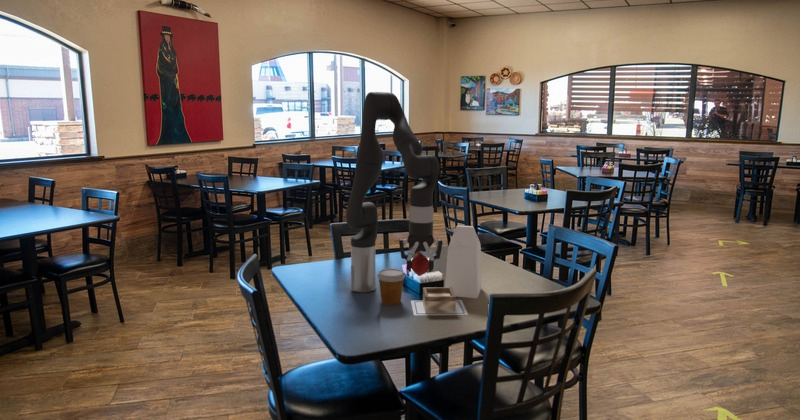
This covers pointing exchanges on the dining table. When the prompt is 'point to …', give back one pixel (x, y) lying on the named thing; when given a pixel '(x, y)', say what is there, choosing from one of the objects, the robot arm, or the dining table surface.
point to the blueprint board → (419, 310)
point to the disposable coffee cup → (391, 285)
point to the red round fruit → (420, 264)
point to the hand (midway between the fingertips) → (420, 271)
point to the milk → (464, 263)
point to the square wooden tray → (439, 300)
